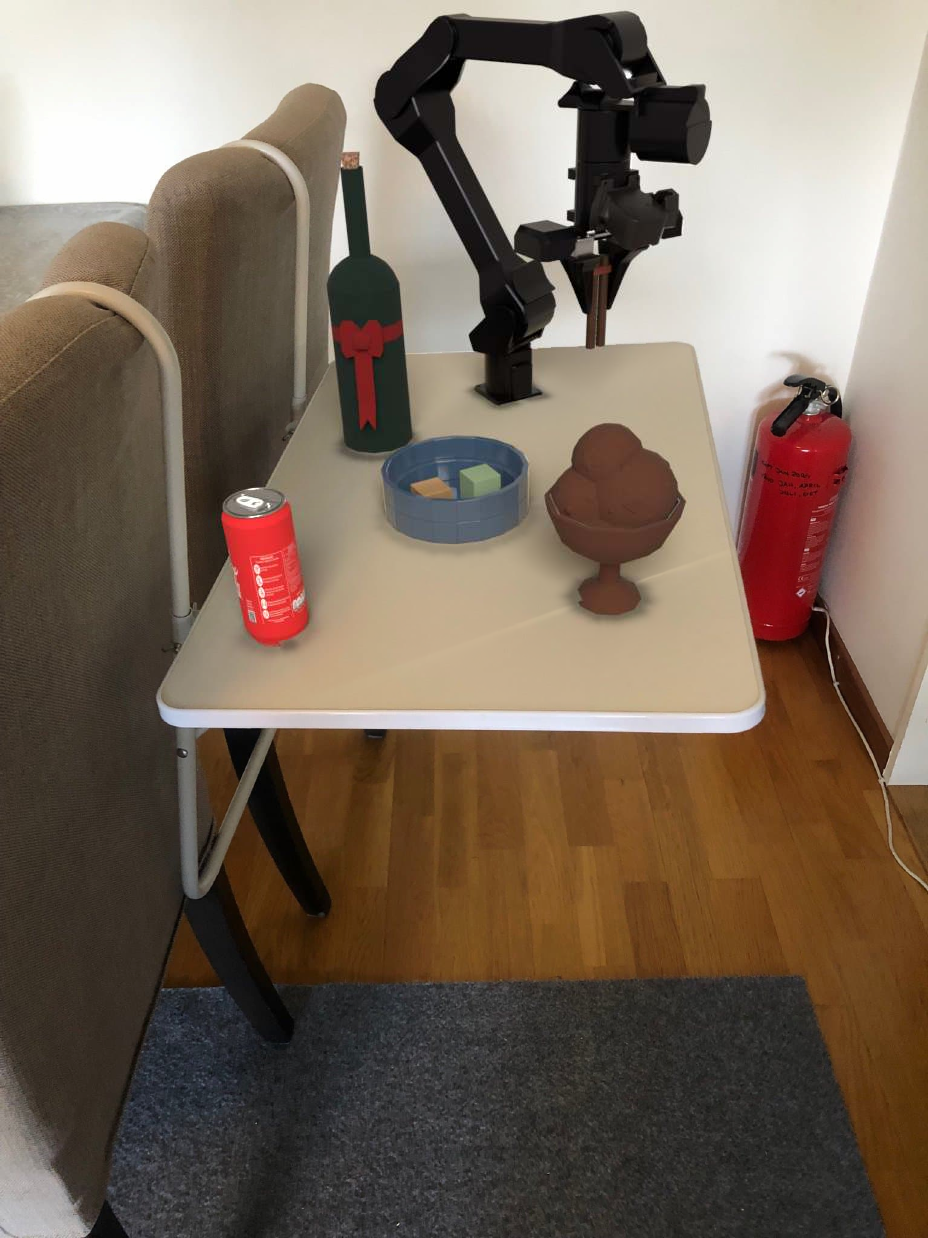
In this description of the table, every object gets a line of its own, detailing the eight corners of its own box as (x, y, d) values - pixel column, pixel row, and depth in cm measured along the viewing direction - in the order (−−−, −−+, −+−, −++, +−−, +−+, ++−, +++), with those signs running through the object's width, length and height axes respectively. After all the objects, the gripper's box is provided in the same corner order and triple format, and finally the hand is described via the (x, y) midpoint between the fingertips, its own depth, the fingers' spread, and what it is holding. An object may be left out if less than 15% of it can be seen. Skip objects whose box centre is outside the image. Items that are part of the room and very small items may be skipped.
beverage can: (281, 656, 73) (256, 524, 66) (234, 637, 75) (204, 508, 68) (323, 623, 77) (303, 494, 70) (276, 606, 79) (252, 480, 72)
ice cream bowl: (524, 615, 76) (523, 450, 68) (574, 552, 84) (580, 396, 76) (646, 648, 72) (663, 475, 63) (688, 577, 80) (708, 416, 71)
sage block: (460, 497, 93) (459, 470, 91) (486, 490, 94) (485, 463, 92) (474, 509, 90) (473, 482, 89) (501, 501, 91) (500, 474, 90)
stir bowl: (363, 501, 94) (358, 456, 91) (484, 467, 99) (483, 424, 96) (424, 564, 84) (421, 516, 81) (556, 523, 89) (557, 476, 86)
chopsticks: (582, 347, 106) (586, 256, 100) (601, 342, 107) (605, 252, 101) (589, 350, 105) (593, 258, 99) (607, 345, 106) (612, 254, 100)
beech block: (412, 511, 91) (410, 483, 89) (439, 503, 92) (437, 476, 90) (425, 524, 88) (423, 496, 87) (453, 516, 90) (451, 488, 88)
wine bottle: (336, 467, 101) (296, 166, 83) (349, 429, 109) (316, 147, 91) (407, 466, 100) (383, 163, 83) (415, 427, 108) (395, 144, 91)
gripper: (574, 181, 85) (569, 348, 94) (727, 157, 92) (709, 313, 101) (510, 165, 93) (511, 320, 102) (655, 144, 100) (644, 290, 109)
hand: (596, 311), depth 103 cm, fingers closed on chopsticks, 2 cm apart
